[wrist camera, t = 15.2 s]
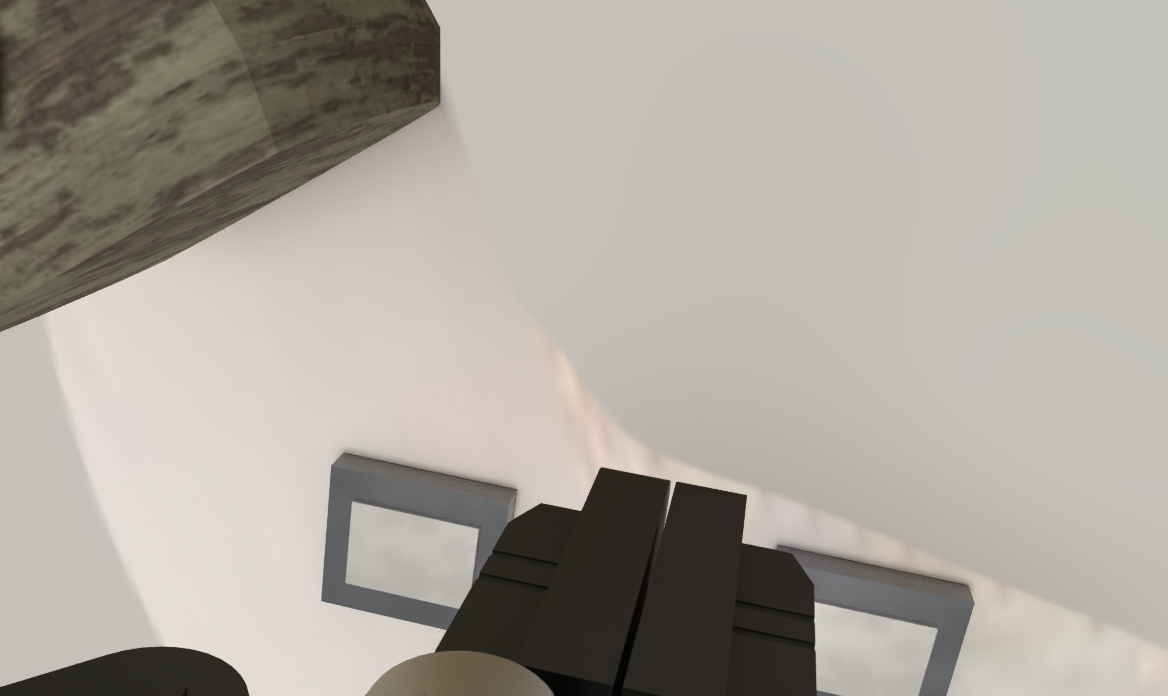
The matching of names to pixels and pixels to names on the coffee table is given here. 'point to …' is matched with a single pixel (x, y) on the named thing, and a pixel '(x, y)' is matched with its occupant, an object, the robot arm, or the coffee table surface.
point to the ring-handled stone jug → (182, 123)
